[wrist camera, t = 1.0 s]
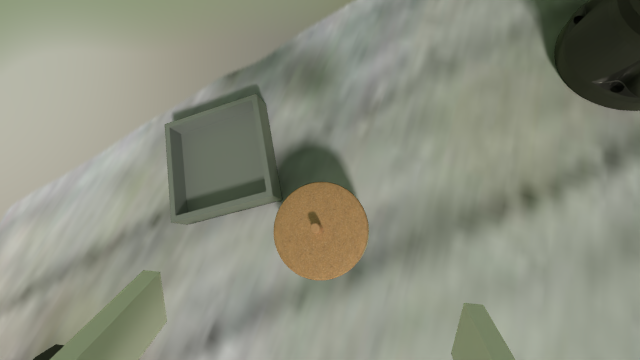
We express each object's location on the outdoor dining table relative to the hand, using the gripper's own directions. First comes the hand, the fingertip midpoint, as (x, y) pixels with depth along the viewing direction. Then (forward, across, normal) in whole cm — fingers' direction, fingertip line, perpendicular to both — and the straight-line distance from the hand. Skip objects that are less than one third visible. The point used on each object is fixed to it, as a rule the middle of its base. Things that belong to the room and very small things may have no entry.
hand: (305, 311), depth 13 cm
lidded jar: (+26, +1, -10) cm, 28 cm away
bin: (+33, -16, -4) cm, 37 cm away
